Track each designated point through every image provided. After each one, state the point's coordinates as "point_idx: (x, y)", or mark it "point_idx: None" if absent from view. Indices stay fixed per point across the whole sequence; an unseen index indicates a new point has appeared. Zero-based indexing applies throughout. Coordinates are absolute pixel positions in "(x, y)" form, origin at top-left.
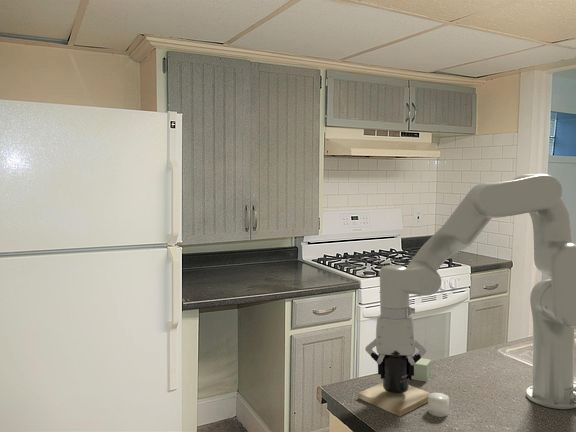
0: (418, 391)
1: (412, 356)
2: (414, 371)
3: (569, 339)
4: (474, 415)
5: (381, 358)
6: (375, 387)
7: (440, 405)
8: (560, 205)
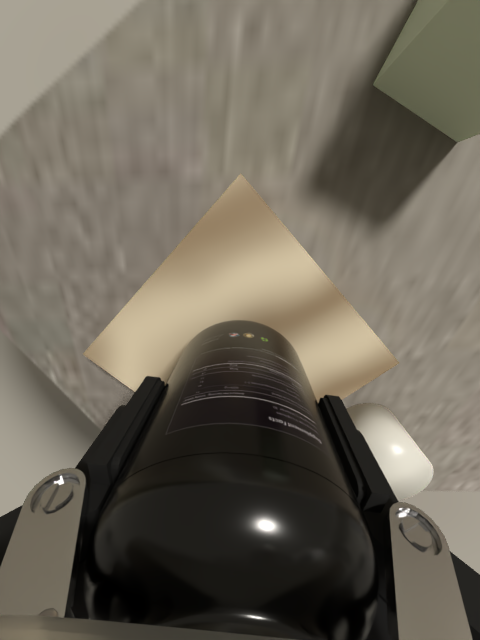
0: (345, 340)
1: (446, 603)
2: (438, 66)
3: None
4: (463, 444)
5: (74, 609)
6: (151, 302)
7: None
8: None
